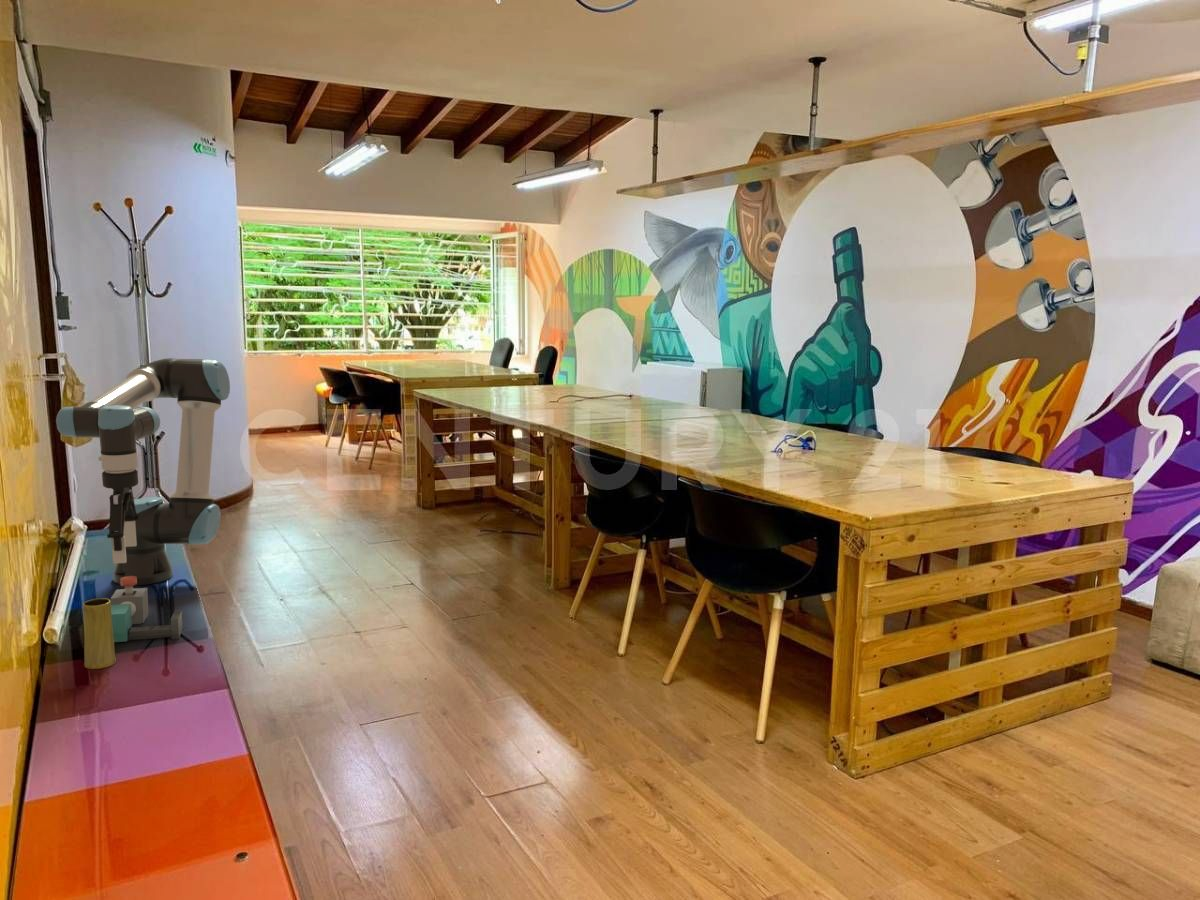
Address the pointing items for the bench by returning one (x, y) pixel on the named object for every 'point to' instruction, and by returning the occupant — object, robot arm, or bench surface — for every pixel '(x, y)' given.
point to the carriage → (121, 621)
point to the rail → (159, 629)
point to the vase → (98, 634)
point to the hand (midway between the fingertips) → (125, 554)
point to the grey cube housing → (133, 603)
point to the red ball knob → (128, 584)
